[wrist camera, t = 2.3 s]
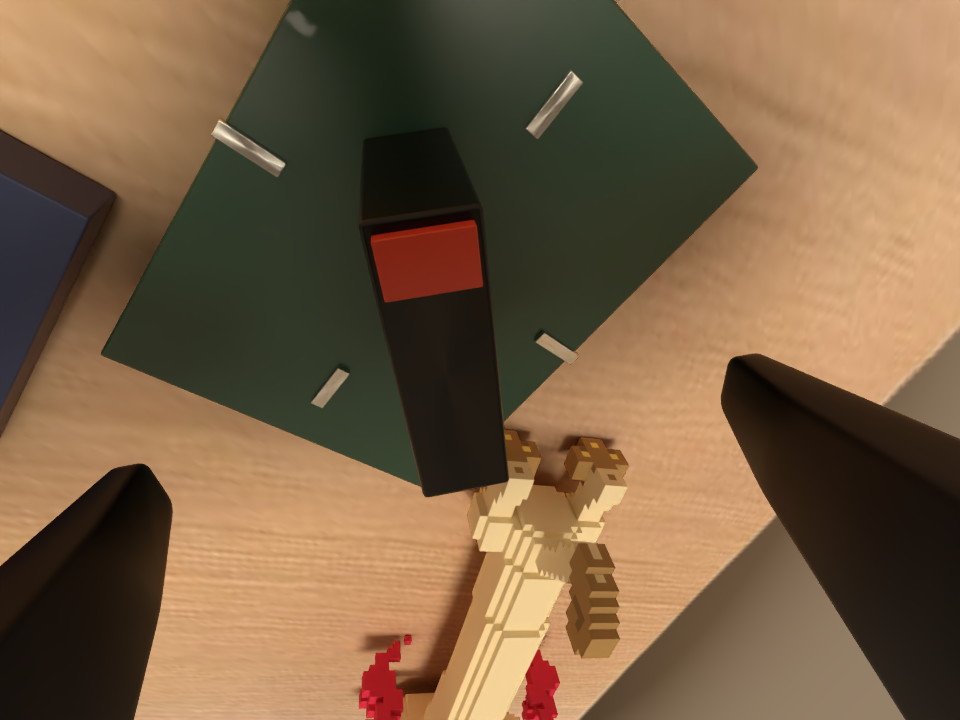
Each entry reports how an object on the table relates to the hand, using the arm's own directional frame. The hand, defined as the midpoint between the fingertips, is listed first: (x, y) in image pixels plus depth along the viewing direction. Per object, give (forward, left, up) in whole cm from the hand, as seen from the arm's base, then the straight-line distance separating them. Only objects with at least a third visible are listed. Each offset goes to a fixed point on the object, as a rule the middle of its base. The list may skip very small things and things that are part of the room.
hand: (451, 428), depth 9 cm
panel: (0, 0, -9) cm, 9 cm away
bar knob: (0, 0, -6) cm, 6 cm away
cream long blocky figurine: (-15, -14, -9) cm, 23 cm away
